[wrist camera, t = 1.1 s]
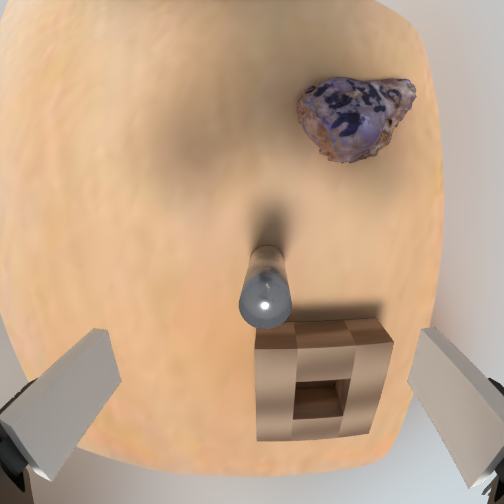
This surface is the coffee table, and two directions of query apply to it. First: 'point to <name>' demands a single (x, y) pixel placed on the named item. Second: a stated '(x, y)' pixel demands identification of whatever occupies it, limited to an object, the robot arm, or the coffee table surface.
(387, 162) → the coffee table surface
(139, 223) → the coffee table surface
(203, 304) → the coffee table surface
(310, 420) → the socket block
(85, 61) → the coffee table surface
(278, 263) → the pin
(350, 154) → the purple lumpy piece
